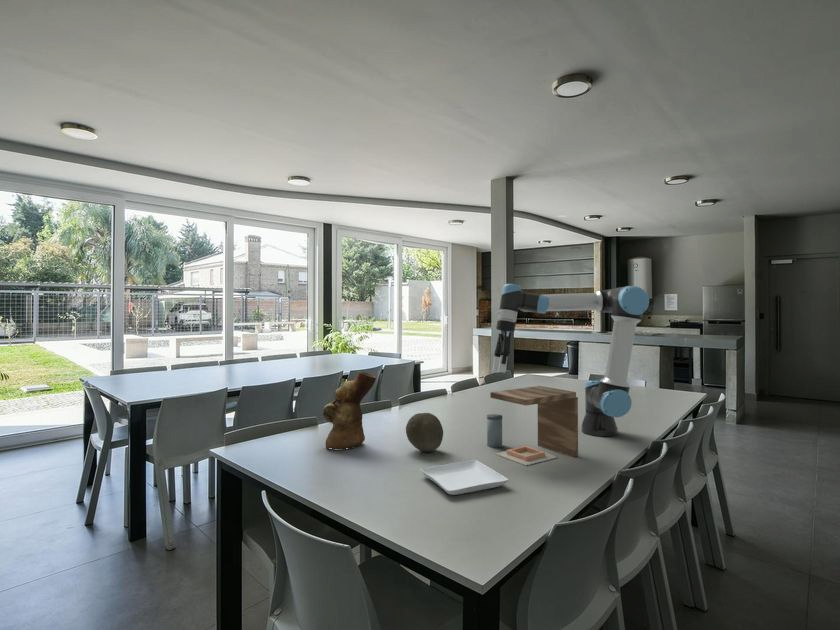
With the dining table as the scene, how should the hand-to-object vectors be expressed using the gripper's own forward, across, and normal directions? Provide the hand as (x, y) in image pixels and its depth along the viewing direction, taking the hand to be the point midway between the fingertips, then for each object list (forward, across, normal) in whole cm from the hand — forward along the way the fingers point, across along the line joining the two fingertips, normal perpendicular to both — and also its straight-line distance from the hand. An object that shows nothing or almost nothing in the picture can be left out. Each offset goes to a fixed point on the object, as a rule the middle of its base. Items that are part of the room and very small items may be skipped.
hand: (498, 372), depth 191 cm
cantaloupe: (+36, +6, -24) cm, 44 cm away
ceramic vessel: (+40, -5, -54) cm, 68 cm away
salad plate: (+38, +38, -12) cm, 55 cm away
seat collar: (+29, +13, +13) cm, 34 cm away
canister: (+29, -2, +4) cm, 29 cm away
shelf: (+29, +13, +15) cm, 35 cm away
